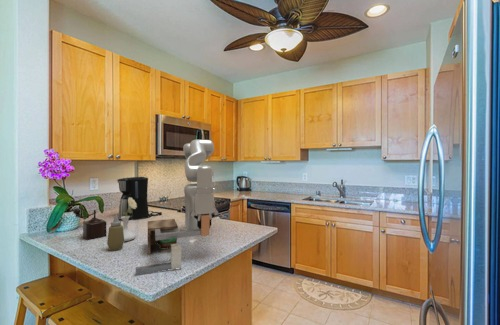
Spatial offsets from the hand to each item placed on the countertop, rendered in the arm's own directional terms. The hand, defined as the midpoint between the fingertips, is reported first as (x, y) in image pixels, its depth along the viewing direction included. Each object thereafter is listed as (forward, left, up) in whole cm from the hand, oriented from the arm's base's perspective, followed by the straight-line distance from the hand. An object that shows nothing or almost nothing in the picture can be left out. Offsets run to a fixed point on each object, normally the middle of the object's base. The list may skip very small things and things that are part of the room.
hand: (204, 227), depth 120 cm
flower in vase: (+38, -42, -14) cm, 58 cm away
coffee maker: (+33, -101, -14) cm, 107 cm away
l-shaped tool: (+21, +9, -14) cm, 27 cm away
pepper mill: (+59, -55, -14) cm, 82 cm away
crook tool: (+10, -3, -3) cm, 11 cm away
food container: (+16, -19, -14) cm, 28 cm away
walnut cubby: (+19, -20, -14) cm, 30 cm away
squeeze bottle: (+42, -27, -14) cm, 52 cm away
